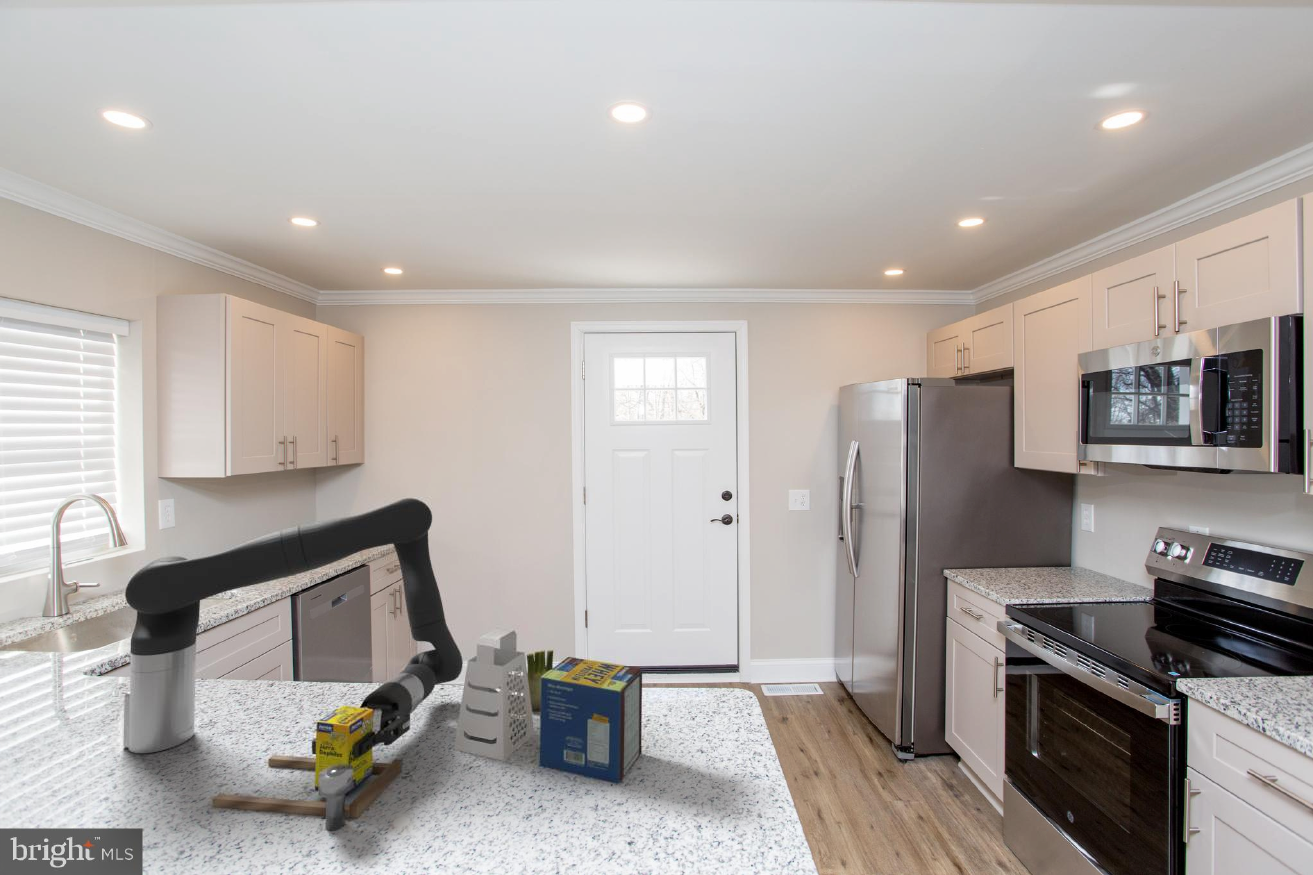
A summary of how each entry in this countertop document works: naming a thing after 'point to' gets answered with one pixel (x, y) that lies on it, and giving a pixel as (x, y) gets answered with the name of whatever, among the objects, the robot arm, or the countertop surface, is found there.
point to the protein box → (591, 718)
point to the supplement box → (344, 742)
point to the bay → (316, 804)
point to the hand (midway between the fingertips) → (335, 749)
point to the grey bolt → (335, 793)
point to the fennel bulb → (537, 674)
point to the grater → (495, 698)
